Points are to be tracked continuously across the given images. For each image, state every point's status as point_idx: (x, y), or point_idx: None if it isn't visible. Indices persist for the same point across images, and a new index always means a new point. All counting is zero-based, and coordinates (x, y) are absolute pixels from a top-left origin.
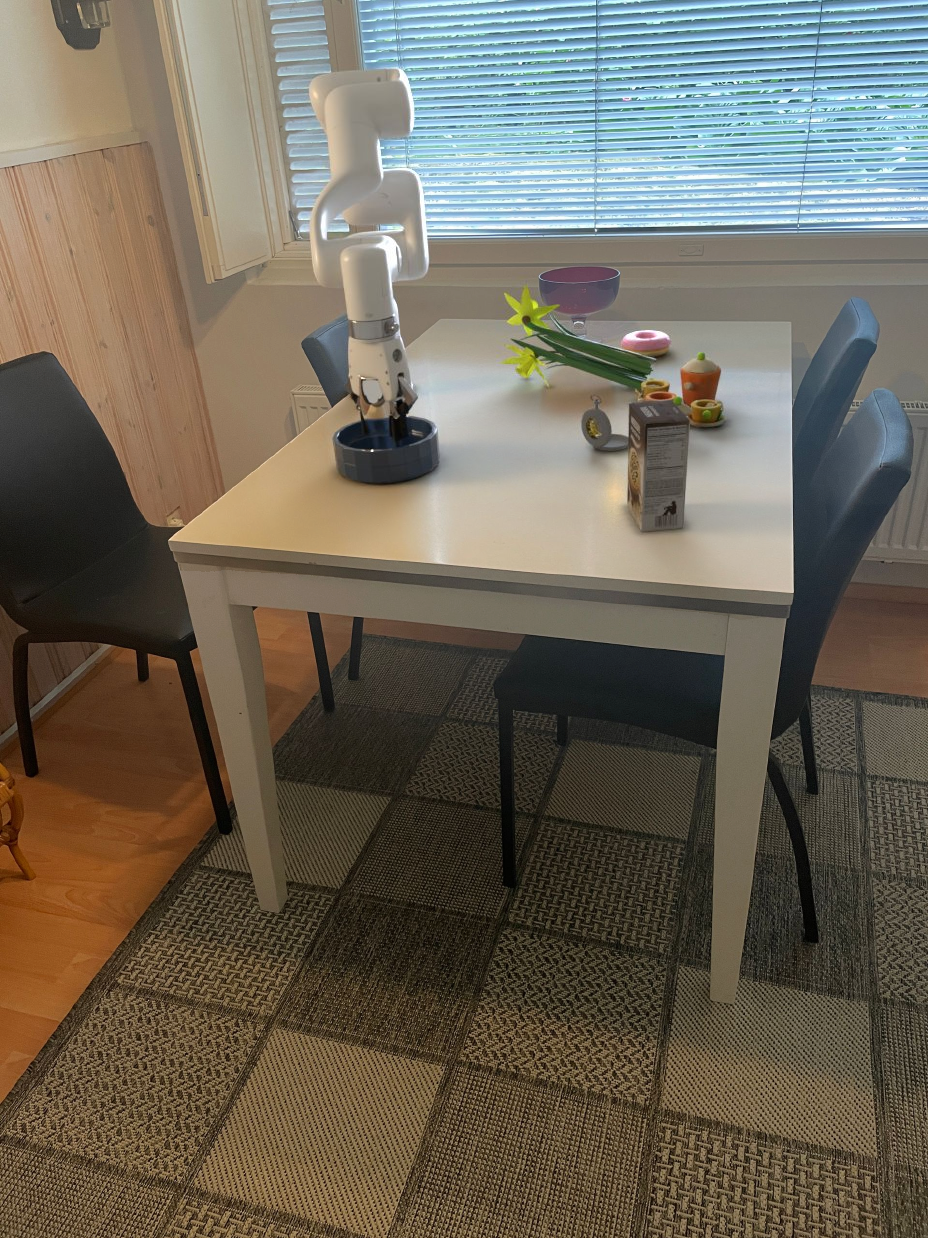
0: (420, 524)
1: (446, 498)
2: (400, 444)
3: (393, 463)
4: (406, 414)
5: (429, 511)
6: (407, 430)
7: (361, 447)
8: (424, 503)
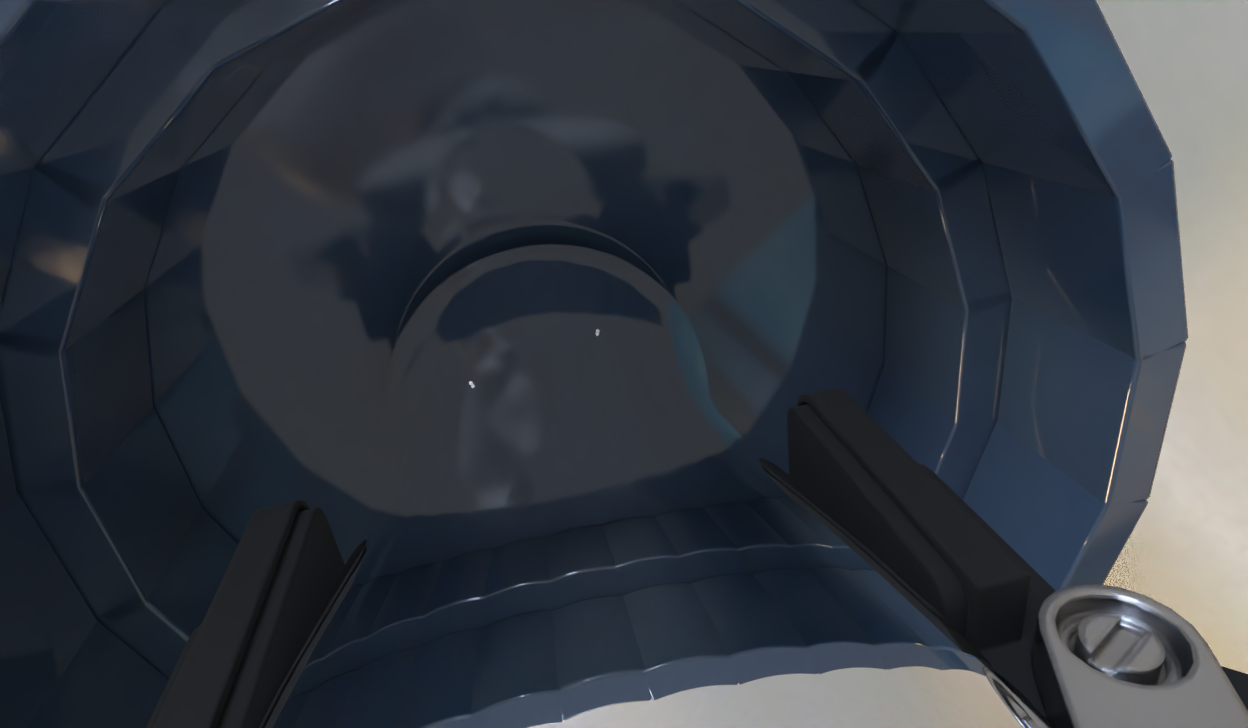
0: (1232, 653)
1: (1227, 430)
2: (710, 392)
3: None
4: (1095, 613)
5: (1211, 568)
6: (866, 416)
7: (132, 443)
8: (1145, 538)
